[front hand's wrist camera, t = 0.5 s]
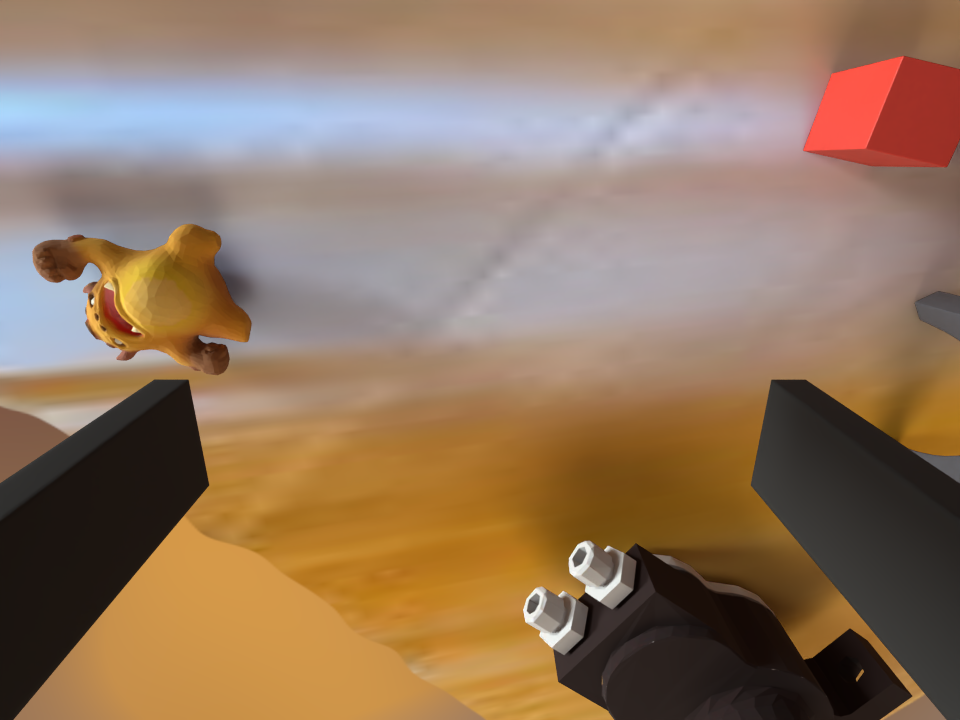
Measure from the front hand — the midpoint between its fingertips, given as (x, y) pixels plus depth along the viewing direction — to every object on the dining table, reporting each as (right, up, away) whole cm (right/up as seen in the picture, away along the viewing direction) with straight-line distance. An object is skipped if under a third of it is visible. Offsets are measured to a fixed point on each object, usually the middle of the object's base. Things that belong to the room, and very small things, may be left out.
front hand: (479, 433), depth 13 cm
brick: (+28, +19, +28) cm, 44 cm away
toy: (-25, +8, +32) cm, 42 cm away
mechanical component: (+18, -24, +43) cm, 53 cm away
